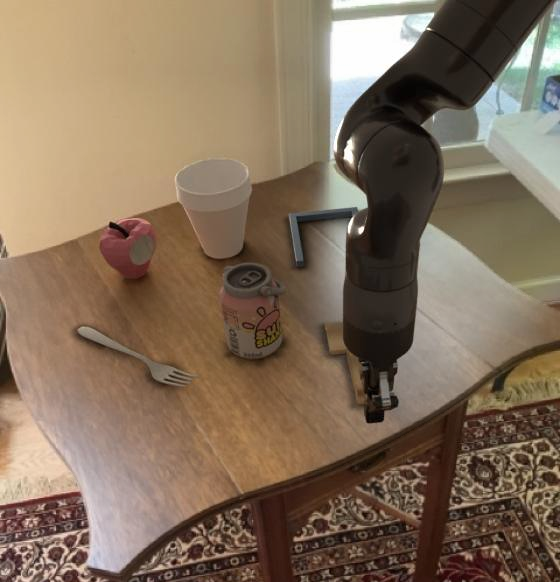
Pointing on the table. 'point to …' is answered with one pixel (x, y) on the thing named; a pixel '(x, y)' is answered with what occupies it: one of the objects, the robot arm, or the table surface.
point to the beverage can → (251, 310)
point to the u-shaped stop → (309, 217)
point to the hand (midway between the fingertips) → (373, 418)
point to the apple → (129, 246)
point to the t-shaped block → (338, 347)
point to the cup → (216, 203)
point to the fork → (157, 370)
